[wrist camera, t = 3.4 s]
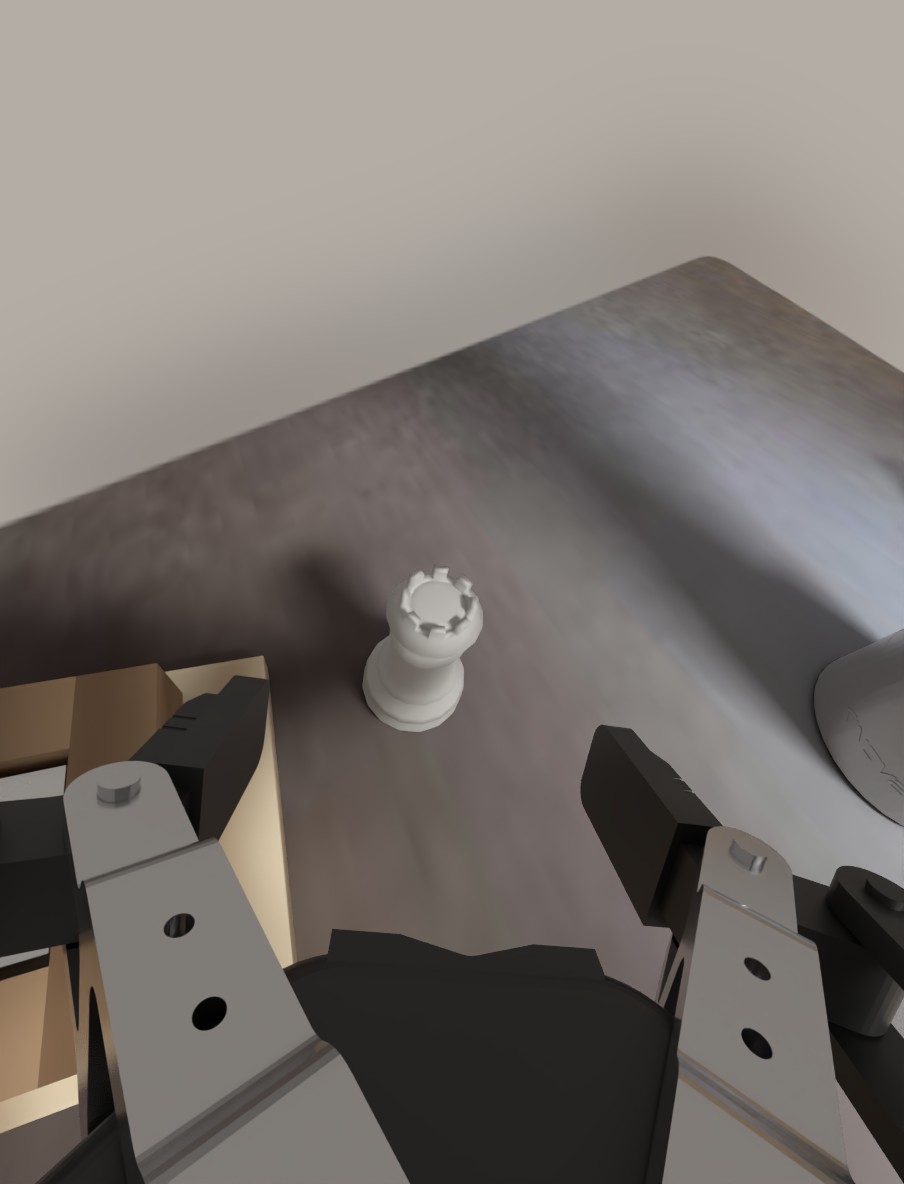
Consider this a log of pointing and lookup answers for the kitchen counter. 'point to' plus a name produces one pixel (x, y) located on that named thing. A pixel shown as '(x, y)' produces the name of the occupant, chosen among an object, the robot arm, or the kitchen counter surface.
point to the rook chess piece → (423, 650)
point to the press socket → (82, 742)
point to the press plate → (30, 788)
